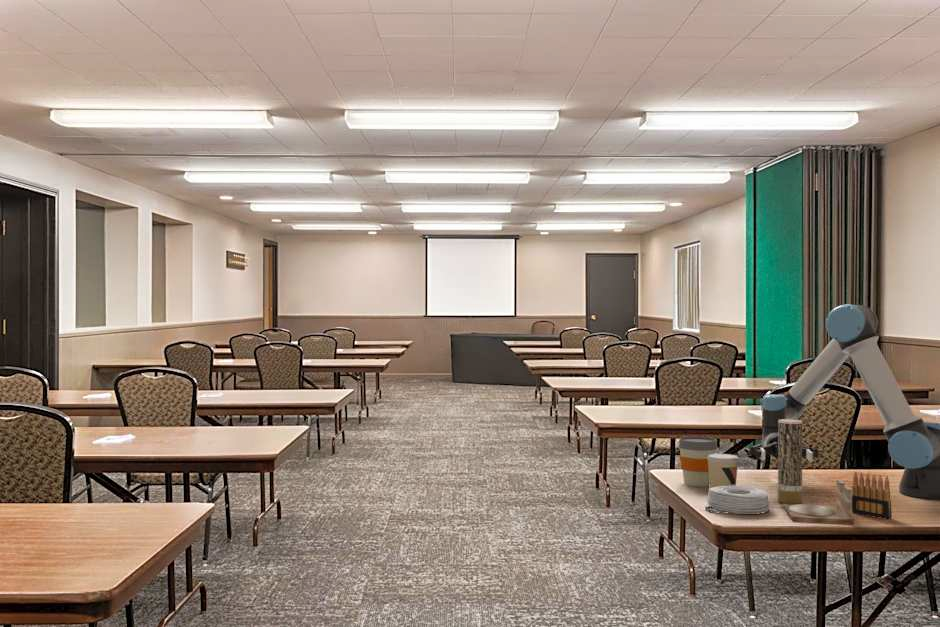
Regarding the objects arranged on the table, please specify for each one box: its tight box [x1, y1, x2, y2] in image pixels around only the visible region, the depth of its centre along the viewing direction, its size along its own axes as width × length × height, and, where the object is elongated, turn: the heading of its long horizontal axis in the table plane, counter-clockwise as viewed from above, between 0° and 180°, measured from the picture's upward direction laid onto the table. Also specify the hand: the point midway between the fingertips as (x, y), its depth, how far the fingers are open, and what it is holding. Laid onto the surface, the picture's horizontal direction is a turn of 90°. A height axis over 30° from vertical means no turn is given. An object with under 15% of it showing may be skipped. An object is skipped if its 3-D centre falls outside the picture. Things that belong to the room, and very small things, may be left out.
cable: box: [704, 485, 770, 515], centre depth 244 cm, size 18×18×6 cm
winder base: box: [782, 479, 855, 525], centre depth 235 cm, size 16×16×9 cm
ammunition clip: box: [852, 471, 893, 520], centre depth 235 cm, size 11×2×12 cm, turn 40°
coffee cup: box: [707, 453, 739, 488], centre depth 264 cm, size 9×9×12 cm
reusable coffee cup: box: [678, 436, 718, 487], centre depth 279 cm, size 13×13×15 cm
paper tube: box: [777, 419, 803, 505], centre depth 251 cm, size 7×7×25 cm
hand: (787, 456), depth 252 cm, fingers open, 13 cm apart
